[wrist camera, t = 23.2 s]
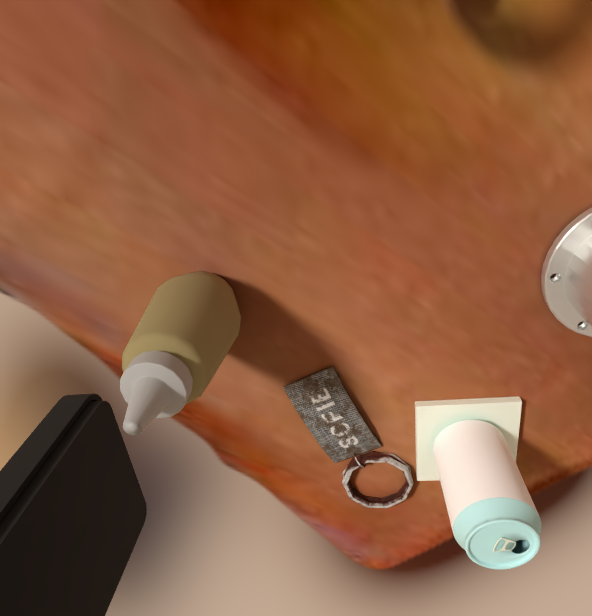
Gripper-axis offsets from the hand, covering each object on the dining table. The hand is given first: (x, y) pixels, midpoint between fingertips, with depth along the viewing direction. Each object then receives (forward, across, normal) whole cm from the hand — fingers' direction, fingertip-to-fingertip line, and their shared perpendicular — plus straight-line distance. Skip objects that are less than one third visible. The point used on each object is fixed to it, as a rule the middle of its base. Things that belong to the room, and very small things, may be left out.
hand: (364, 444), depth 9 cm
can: (+33, -10, +30) cm, 45 cm away
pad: (+33, -10, +30) cm, 46 cm away
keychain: (+34, +1, +30) cm, 45 cm away
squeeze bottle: (+34, +14, +12) cm, 38 cm away
